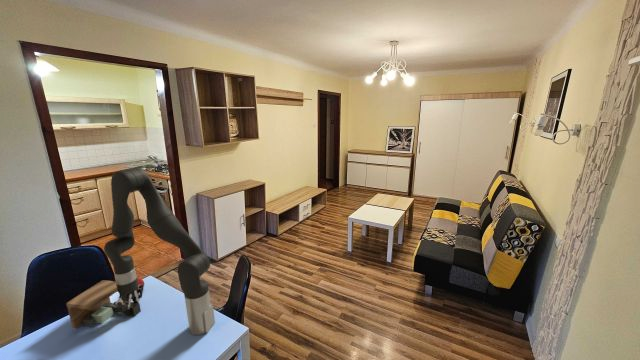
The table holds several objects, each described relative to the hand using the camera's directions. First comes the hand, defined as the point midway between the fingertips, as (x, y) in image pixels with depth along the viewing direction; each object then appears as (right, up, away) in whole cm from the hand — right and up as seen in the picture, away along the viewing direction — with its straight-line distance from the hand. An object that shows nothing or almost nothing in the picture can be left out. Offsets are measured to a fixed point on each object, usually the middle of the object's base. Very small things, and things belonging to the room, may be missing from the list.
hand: (132, 311), depth 121 cm
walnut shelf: (-12, -1, -2) cm, 12 cm away
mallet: (-7, -1, -3) cm, 8 cm away
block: (-11, -2, -3) cm, 11 cm away
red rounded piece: (-8, +3, +15) cm, 17 cm away
